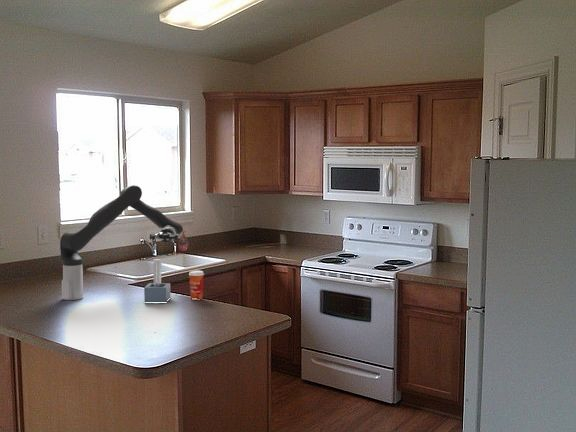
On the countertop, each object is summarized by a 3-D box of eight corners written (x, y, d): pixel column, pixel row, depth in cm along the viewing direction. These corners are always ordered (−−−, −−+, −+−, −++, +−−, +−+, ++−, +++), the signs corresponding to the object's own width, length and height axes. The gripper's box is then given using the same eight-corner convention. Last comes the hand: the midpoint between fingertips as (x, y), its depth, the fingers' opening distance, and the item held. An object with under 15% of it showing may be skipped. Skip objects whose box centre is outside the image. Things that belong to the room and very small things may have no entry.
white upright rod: (152, 300, 308) (151, 259, 306) (154, 298, 313) (153, 258, 311) (161, 300, 308) (160, 260, 306) (163, 298, 312) (162, 258, 311)
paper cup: (185, 299, 314) (185, 272, 313) (194, 296, 321) (194, 269, 320) (198, 301, 310) (198, 273, 309) (207, 298, 317) (207, 271, 316)
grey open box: (166, 303, 305) (166, 287, 304) (144, 303, 305) (144, 287, 304) (170, 299, 316) (170, 283, 315) (149, 298, 316) (149, 283, 315)
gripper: (154, 227, 334) (147, 230, 318) (181, 227, 334) (175, 231, 318) (154, 241, 335) (147, 245, 319) (181, 241, 335) (175, 245, 319)
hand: (161, 238), depth 318 cm, fingers open, 8 cm apart
